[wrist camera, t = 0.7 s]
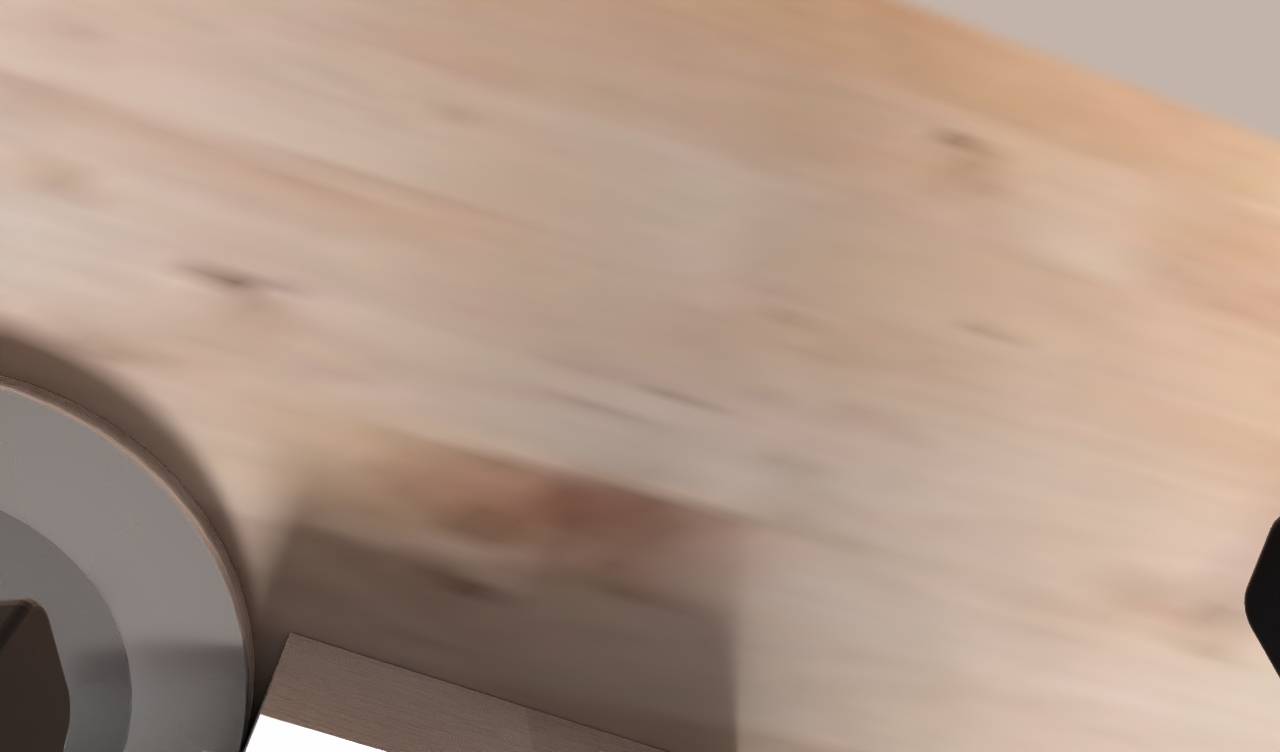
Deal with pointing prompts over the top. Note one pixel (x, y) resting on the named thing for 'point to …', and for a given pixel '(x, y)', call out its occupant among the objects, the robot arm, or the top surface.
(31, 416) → the silver disc stand
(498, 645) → the top surface
